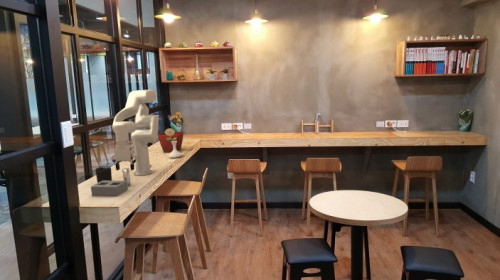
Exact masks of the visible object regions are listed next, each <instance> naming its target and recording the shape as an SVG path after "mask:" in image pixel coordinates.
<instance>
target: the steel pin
mask: <svg viewBox="0 0 500 280" xmlns="http://www.w3.org/2000/svg"><path fill="white" fill-rule="evenodd" d="M121 170H122V171H121V172H122V178H123V180H122V181H127V187H128V186H129V187H131V184H132V181H131V174H130V167H129V168H128V167H124V168H122V169H121ZM129 187H128V188H129Z"/></svg>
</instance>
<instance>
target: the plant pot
mask: <svg viewBox="0 0 500 280" xmlns="http://www.w3.org/2000/svg"><path fill="white" fill-rule="evenodd" d="M176 137H177V138H176ZM167 138H171V139H170V140H166V139H167ZM174 138H176V139H175V140H173V139H174ZM183 138H184V131H175V133H174V135H171V137H170V136H169V135H168V136H167V135H166V134H165V131H164V132H161V133H159V134H157V139H158V140H159V145H160V147H161V150H162V152H163V153H171V152H172V151H173V144H172V142H171V141H177V142H176V150H177V151H179V152H180V151H181V149H182V145H183V142H184V141H183Z"/></svg>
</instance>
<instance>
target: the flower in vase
mask: <svg viewBox="0 0 500 280" xmlns="http://www.w3.org/2000/svg"><path fill="white" fill-rule="evenodd" d="M164 132H165V134H166V135H167V136H168V135H169V136H170V137H171V135H174V133H175V132H176V131H175V129H174V128H166V129H165V131H164ZM176 138H177V137H176ZM176 138H174V139H173V140H175V139H176ZM170 139H171V138H167V139H166V140H170ZM171 142H172V144H173V151H172V152H169V154H168V157H169V158H170V159H171V158H172V159H176V158H181V157H182V156H183V154H182V153H181V152H180V150H179V151H177V150H176V142H177V141H171Z"/></svg>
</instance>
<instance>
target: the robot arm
mask: <svg viewBox="0 0 500 280" xmlns="http://www.w3.org/2000/svg"><path fill="white" fill-rule="evenodd" d="M157 97H158V96H157V93H156V91H155V90H154V89H138V90H137V89H136V90H133V91H130V92H129V94H128V97H127V101H126V103H125V107H124V108H123V109H121V110H119V112H118V113H116V114H115V117H114V118H113V123H112V126H111V127H112V129H111V130H112V131H113V133H114V134H115V148H114V149H115V150H114V155H112V156H111V157H110V159H111V161H112V163H113V164H114V165H115V171H120V170H121V168H120V165H121V164H120V163H119V162H129V163H130V164H129V166H130V167H129V169H130V171H132V172H133V171H134V170H135V171H134V172H133V175H134V176H139V177H140V176H148V175H151V174H152V173H153V169H151V168H152V164H151V163H150V154H149V148H148V146H147V144H149V143H150V144H151V143H156V142H157V140H158V135H159V134H158V133H159V118H158V116H157V115H155V114H149V112H150V110H149V107H148V106H147V104H150V103H154V102H155V101H156V100H157ZM133 116H135V119H134V121H131V120H130V121H125V120H126V119H128V118H131V117H133ZM129 134H130V137H131V138H130V137H129ZM130 139H131V140H130ZM131 143H132V144H133V147H132V144H131ZM146 143H147V144H146Z"/></svg>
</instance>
